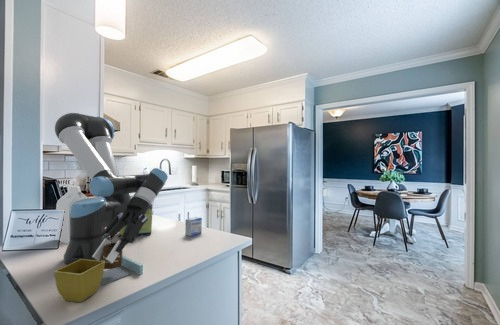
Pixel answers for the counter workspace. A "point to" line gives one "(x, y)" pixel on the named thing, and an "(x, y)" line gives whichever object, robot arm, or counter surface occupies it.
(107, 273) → the slate pad
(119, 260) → the utensil holder
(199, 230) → the medicine box
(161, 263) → the counter surface
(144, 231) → the protein box
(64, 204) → the milk
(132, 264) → the acrylic wall
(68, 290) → the flower pot
